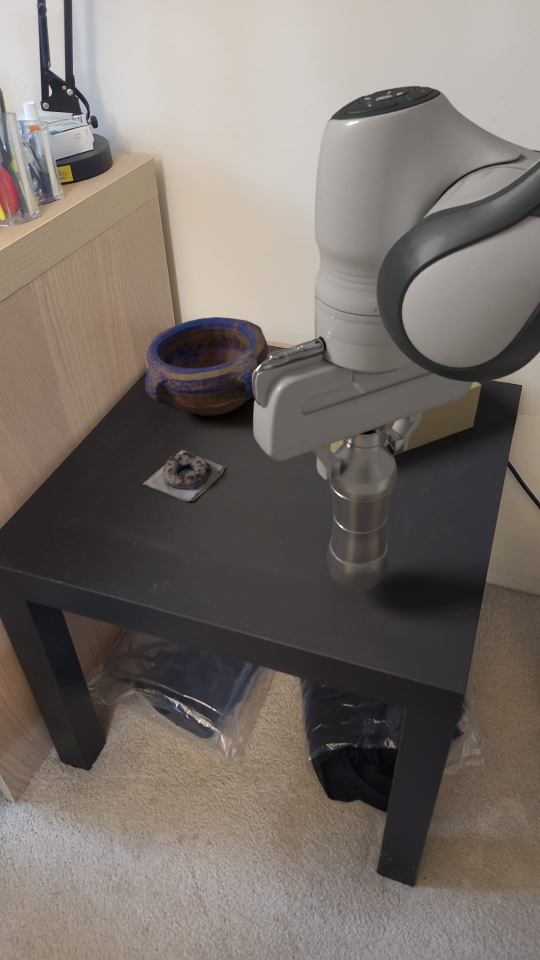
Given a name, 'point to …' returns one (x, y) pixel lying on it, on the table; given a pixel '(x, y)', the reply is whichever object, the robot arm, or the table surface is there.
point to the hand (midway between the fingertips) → (362, 461)
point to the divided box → (441, 420)
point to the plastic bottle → (361, 510)
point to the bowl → (204, 365)
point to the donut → (185, 476)
